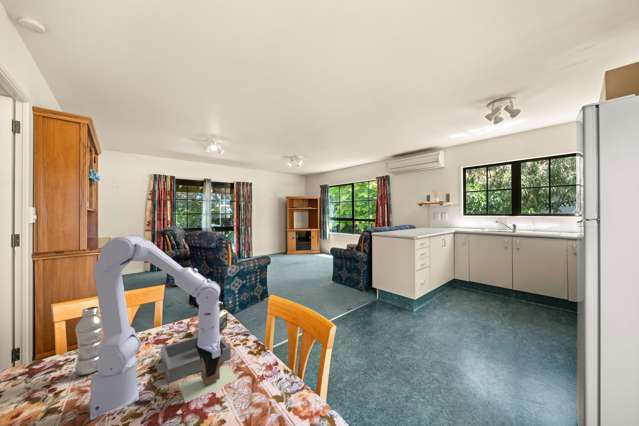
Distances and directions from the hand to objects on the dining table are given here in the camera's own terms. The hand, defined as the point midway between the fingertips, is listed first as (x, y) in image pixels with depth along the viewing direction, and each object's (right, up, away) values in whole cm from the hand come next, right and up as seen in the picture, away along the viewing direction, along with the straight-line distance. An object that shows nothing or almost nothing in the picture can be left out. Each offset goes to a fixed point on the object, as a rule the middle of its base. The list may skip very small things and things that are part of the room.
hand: (208, 371), depth 70 cm
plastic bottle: (-41, -4, +6) cm, 41 cm away
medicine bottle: (-13, -5, +33) cm, 35 cm away
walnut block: (0, -2, 0) cm, 2 cm away
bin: (-10, -4, +11) cm, 15 cm away
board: (0, -4, 0) cm, 4 cm away
